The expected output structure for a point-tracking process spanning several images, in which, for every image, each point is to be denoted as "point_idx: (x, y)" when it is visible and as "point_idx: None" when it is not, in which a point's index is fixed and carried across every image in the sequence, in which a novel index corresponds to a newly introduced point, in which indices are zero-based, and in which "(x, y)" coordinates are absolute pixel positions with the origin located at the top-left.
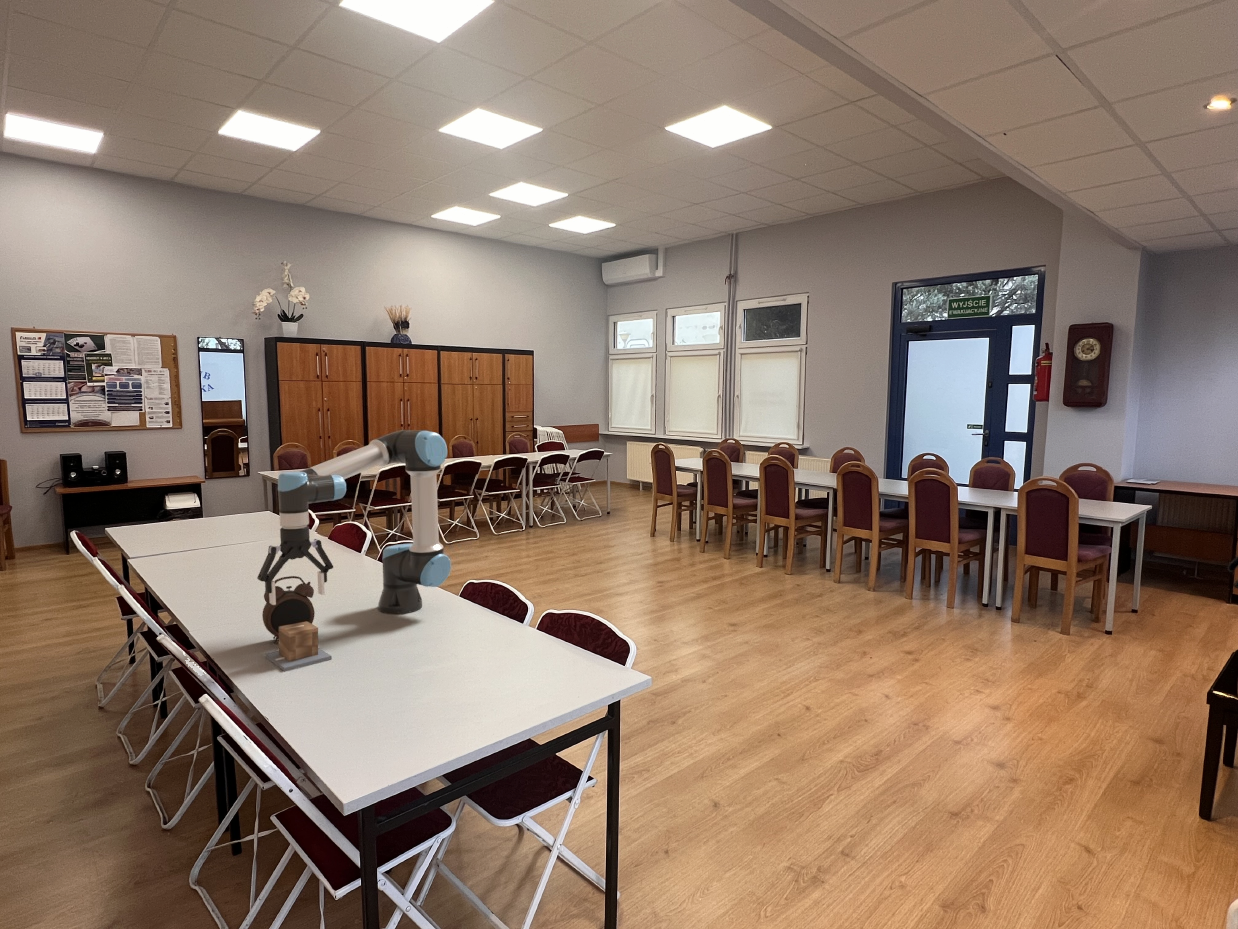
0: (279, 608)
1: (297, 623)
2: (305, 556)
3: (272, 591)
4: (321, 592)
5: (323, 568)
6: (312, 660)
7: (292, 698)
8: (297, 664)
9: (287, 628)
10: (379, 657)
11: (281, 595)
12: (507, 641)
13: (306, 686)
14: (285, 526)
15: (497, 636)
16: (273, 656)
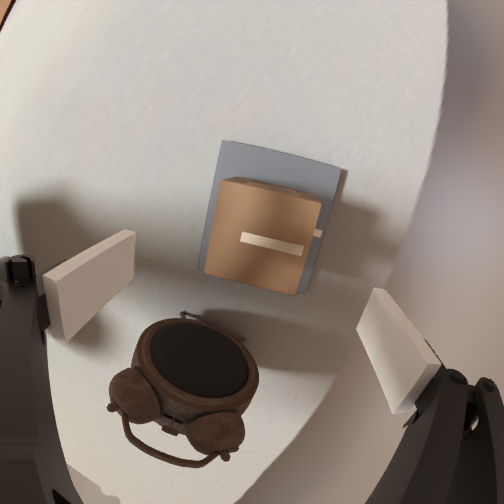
0: (224, 386)
1: (237, 277)
2: (77, 495)
3: (415, 328)
4: (130, 242)
5: (18, 295)
6: (271, 151)
7: (401, 46)
8: (310, 160)
9: (297, 250)
10: (154, 68)
11: (206, 416)
12: (28, 22)
13: (358, 59)
14: None
15: (16, 48)
16: (307, 260)
